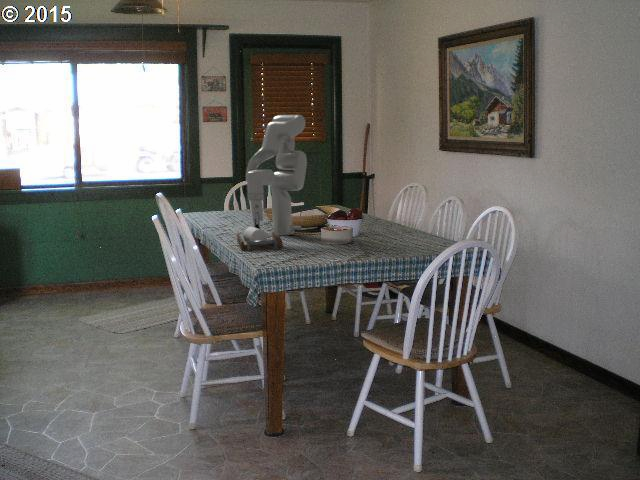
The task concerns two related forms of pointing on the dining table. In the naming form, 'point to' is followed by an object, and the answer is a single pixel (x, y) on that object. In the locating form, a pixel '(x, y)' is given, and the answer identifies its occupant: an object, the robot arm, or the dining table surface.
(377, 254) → the dining table surface
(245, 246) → the frame
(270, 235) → the mug
